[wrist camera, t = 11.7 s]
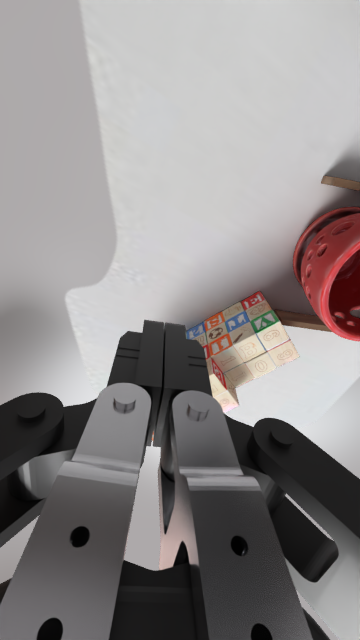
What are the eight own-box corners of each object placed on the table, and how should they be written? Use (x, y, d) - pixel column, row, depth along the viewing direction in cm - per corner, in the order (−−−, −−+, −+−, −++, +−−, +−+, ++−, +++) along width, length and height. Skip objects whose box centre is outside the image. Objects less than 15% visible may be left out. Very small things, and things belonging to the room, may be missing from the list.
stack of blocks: (259, 288, 42) (290, 334, 31) (277, 321, 45) (311, 373, 34) (136, 357, 47) (126, 417, 36) (158, 383, 50) (155, 446, 39)
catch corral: (323, 175, 35) (336, 177, 32) (432, 197, 37) (452, 200, 34) (273, 314, 44) (279, 324, 41) (362, 327, 45) (374, 338, 43)
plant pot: (274, 222, 38) (314, 248, 27) (382, 186, 36) (470, 198, 25) (289, 310, 44) (327, 359, 33) (382, 282, 42) (453, 324, 31)
